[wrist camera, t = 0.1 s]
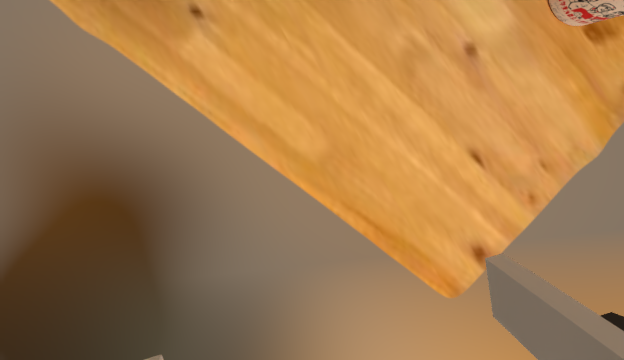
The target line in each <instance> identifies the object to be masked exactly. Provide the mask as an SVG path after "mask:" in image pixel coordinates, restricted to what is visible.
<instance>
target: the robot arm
mask: <svg viewBox="0 0 624 360" xmlns="http://www.w3.org/2000/svg"><path fill="white" fill-rule="evenodd" d="M485 260H486V267H487V275H488V281H489V290H490V296H491V304H492V311H493V317H495V319H497V320H498V322H499V323H501V324H502V325H503V326H504V327H505V328H506V329H507V330H508V331H509V332H510V333H511V334H512V335H513V336H514V337H515V338H516V339H517V340H518V341H519V342H520V343H521V344H522V345H523V346H524V347H525V348H526V349H528V350H529V351H530V352H531V353H532V354H533V355H534V356H535V357H536V358H537V359H538V360H624V317H623V316H620V315H618V314H615V313H612V312H611V313H607V314H604V315H601V316H599V315H598V314H596V313H595V312H593V311H592V310H590V309H589V308H587V307H585V306H584V305H582V304H581V303H579V302H578V301H576V300H575V299H573V298H572V297H570V296H568V295H567V294H565V293H564V292H562V291H561V290H559V289H558V288H556V287H555V286H553V285H552V284H550V283H549V282H547V281H545V280H544V279H542V278H541V277H539V276H538V275H536V274H535V273H533V272H532V271H530V270H528V269H527V268H525V267H524V266H522V265H520V264H519V263H518V262H516V261H514V260H513V259H511V258H510V257H508V256H507V255H505V254H504V253H502V254H499V255H495V256H492V257H489V258H485ZM145 360H163V357H162V355H158V356H155V357H152V358H149V359H145Z"/></svg>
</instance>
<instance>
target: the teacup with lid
mask: <svg viewBox="0 0 624 360" xmlns="http://www.w3.org/2000/svg"><path fill="white" fill-rule="evenodd" d="M549 4H550V7H551V9H552V11H553V13H554V14H555V16H556V17H557V18H558V19H559V20H560V21H562V22H563V23H565V24H568V25H572V26H582V25H587V24H590V23H594V22H598V21H602V20H606V19H610V18H614V17H618V16H622V15H624V0H549Z"/></svg>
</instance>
